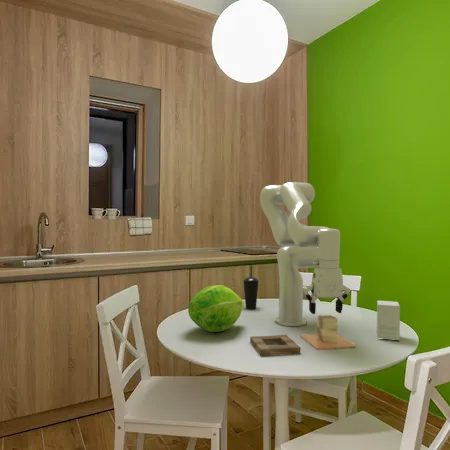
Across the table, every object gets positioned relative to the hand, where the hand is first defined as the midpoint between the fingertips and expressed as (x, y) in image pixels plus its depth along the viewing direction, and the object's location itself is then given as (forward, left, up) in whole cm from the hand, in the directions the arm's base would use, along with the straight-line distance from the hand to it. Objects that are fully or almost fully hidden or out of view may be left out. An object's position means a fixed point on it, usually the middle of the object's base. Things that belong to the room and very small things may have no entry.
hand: (325, 312), depth 135 cm
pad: (+1, 0, -10) cm, 10 cm away
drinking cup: (-50, -14, -10) cm, 53 cm away
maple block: (+1, 0, -9) cm, 9 cm away
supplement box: (0, +24, -10) cm, 26 cm away
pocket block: (+4, -20, -10) cm, 23 cm away
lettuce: (-18, -35, -10) cm, 41 cm away
